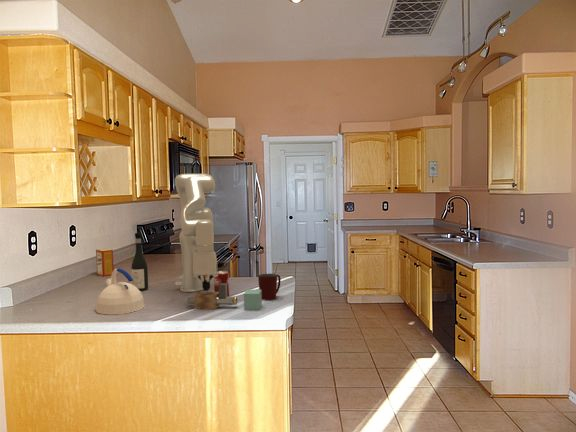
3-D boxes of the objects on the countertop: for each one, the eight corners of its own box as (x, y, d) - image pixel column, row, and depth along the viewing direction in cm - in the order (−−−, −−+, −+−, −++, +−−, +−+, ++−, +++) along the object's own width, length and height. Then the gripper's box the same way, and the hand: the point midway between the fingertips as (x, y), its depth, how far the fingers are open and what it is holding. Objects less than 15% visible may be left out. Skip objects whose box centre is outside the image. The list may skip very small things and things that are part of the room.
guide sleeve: (194, 309, 197) (194, 295, 197) (198, 305, 204) (198, 291, 203) (216, 309, 196) (215, 295, 196) (219, 305, 203) (219, 291, 202)
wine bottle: (143, 291, 233) (140, 233, 231) (129, 291, 234) (126, 233, 232) (151, 288, 240) (148, 232, 238) (137, 287, 242) (135, 232, 240)
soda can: (217, 299, 214) (216, 274, 213) (212, 296, 220) (211, 271, 219) (231, 297, 217) (230, 272, 216) (226, 294, 224) (225, 270, 223)
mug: (274, 294, 222) (273, 271, 221) (286, 297, 216) (285, 274, 215) (254, 298, 214) (254, 275, 213) (266, 301, 208) (266, 278, 207)
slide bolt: (186, 305, 199) (186, 285, 198) (189, 303, 202) (188, 283, 202) (236, 305, 197) (235, 284, 197) (237, 303, 201) (236, 283, 200)
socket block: (244, 309, 195) (243, 293, 194) (247, 305, 203) (246, 289, 202) (259, 309, 194) (258, 293, 194) (261, 305, 202) (261, 289, 202)
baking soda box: (97, 274, 281) (95, 249, 280) (107, 273, 286) (106, 248, 285) (103, 276, 275) (102, 250, 274) (113, 275, 279) (112, 249, 278)
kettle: (128, 300, 216) (126, 263, 214) (153, 307, 202) (152, 267, 201) (87, 310, 200) (85, 269, 199) (111, 318, 187) (109, 274, 186)
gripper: (185, 250, 195) (187, 292, 196) (219, 249, 194) (221, 292, 195) (190, 248, 203) (192, 288, 204) (223, 247, 201) (224, 288, 202)
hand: (206, 290), depth 199 cm, fingers closed
